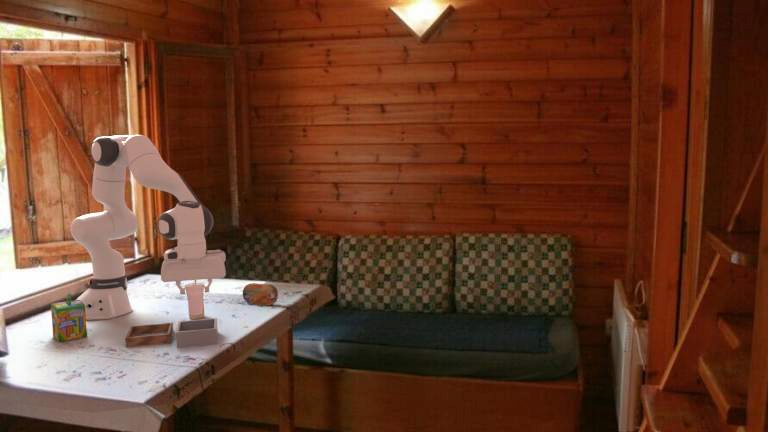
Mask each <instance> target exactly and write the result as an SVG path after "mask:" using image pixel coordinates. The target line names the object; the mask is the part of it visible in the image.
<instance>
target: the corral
mask: <svg viewBox="0 0 768 432" xmlns="http://www.w3.org/2000/svg"><path fill="white" fill-rule="evenodd" d="M152 333H153V334H152ZM173 334H174V323H173V322H163V323H153V324H151V323H150V324H141V325H131V326H130V328H129V330H128V332H127V334H126V336H125V338H124V339H125V348H132V347H143V346H144V347H145V346H154V345H165V344H171V341H172V337H173Z"/></svg>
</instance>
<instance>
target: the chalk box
mask: <svg viewBox="0 0 768 432" xmlns="http://www.w3.org/2000/svg"><path fill="white" fill-rule="evenodd" d="M72 298H73V295H72V294H71V293H68V294H67V297H66V301H61V302H53V303H51V304H50V310H51V311H50V312H51V324H52V326H51V327H52V336H53V337H54V339H55V340H57V342H58V343H62V342H68V341H73V340H79V339H83V338H87V337H88V330H87V329H88V328H87V320H86V314H85V304H83V303H82V302H81V301H80V300H76V299H75V300H74V299H73V300H72Z"/></svg>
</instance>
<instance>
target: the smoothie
mask: <svg viewBox="0 0 768 432" xmlns="http://www.w3.org/2000/svg"><path fill="white" fill-rule="evenodd" d="M204 287H205V283H204V282H197V280H194V282H191V283H190V282H189V283H187V284H184V288H185V295H186V298H187V304H189V308H188V310H189V309H190V314H191V315H200V314H202V308H203V300H204V293H205V289H204Z"/></svg>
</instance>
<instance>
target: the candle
mask: <svg viewBox="0 0 768 432" xmlns="http://www.w3.org/2000/svg"><path fill="white" fill-rule="evenodd" d="M187 304H188V303H187ZM187 306H188V307H187V308H188V317H189V318H188V319H189V320H201V319H203V318H205V301H204V299H203V308H202V314H200V315H191V314H190V309H189V304H188V305H187Z"/></svg>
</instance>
